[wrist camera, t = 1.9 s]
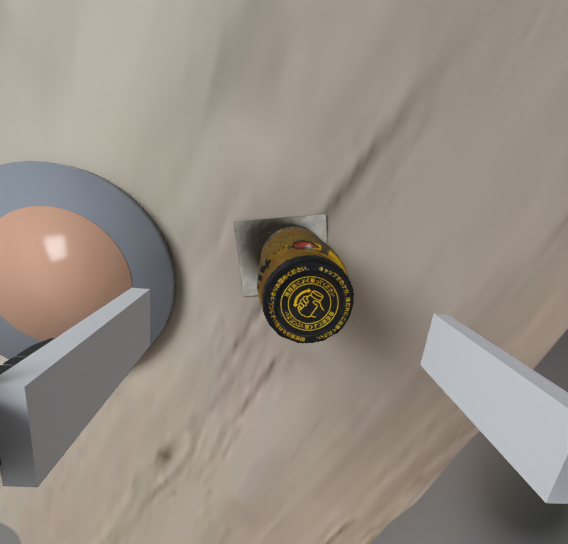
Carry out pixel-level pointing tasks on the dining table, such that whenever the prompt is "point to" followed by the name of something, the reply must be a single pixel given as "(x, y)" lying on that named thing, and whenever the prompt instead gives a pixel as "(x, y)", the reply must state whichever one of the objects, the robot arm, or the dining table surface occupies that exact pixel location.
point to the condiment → (294, 276)
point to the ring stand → (73, 252)
